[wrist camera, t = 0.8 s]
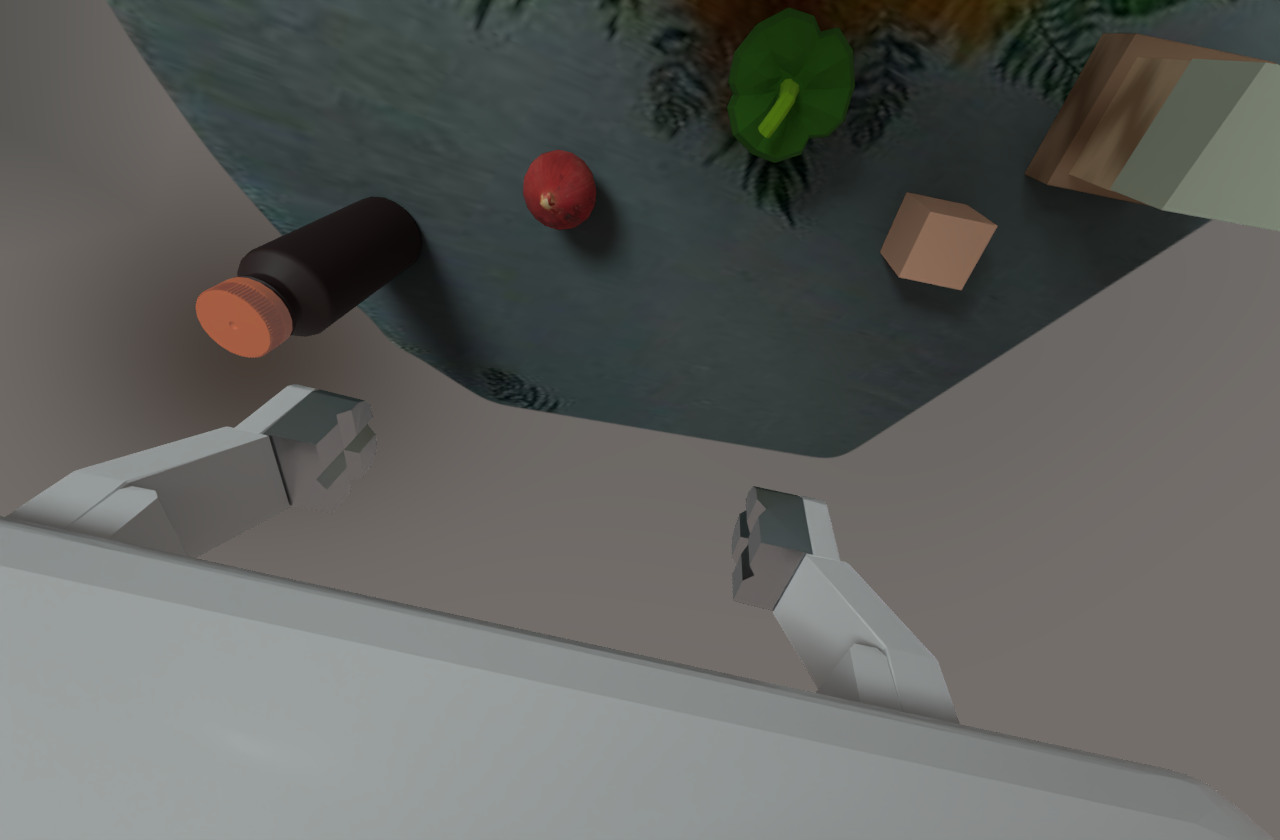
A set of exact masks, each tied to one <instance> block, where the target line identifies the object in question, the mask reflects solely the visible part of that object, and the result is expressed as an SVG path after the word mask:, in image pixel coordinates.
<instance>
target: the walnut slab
mask: <svg viewBox="0 0 1280 840" xmlns="http://www.w3.org/2000/svg"><path fill="white" fill-rule="evenodd" d="M1137 57H1144V58H1161V59H1178V60H1192V59H1209V60H1228V61H1247V62H1265V63H1271V64H1276V62H1271V61H1266V60H1261V59H1256V58H1252V57H1247V56H1242V55H1237V54H1232V53H1227V52H1223V51H1218V50H1213V49H1208V48H1203V47H1198V46H1194V45H1189V44H1184V43H1179V42H1174V41H1169V40H1165V39H1160V38H1155V37H1150V36H1145V35H1141V34H1124V33H1103V34H1102V36H1101V38H1100V39H1099V41H1098V43H1097V45H1096V47H1095V48H1094V50H1093V52H1092V54H1091V55H1090V57H1089V59H1088V61H1087V63H1086V64H1085V66H1084V68H1083V70H1082V72H1081V73H1080V75H1079V77H1078V79H1077V81H1076V82H1075V84H1074V86H1073V88H1072V90H1071V91H1070V93H1069V95H1068V97H1067V98H1066V100H1065V102H1064V104H1063V106H1062V107H1061V109H1060V111H1059V113H1058V115H1057V116H1056V118H1055V120H1054V122H1053V124H1052V125H1051V127H1050V129H1049V131H1048V132H1047V134H1046V136H1045V138H1044V140H1043V141H1042V143H1041V145H1040V147H1039V149H1038V150H1037V152H1036V154H1035V156H1034V158H1033V159H1032V161H1031V163H1030V165H1029V166H1028V168H1027V170H1026V172H1025V175H1027V176H1029V177H1032V178H1034V179H1036V180H1038V181H1040V182H1042V183H1044V184H1047V185H1051V186H1056V187H1061V188H1066V189H1071V190H1076V191H1080V192H1085V193H1090V194H1095V195H1100V196H1105V197H1109V198H1114V199H1119V200H1124V201H1129V202H1134V203H1138V204H1143V205H1147V204H1145V203H1142V202H1140V201H1137V200H1135V199H1133V198H1130V197H1128V196H1125V195H1123V194H1120V193H1118V192H1115V191H1109V190H1107V189H1104V188H1102V187H1100V186H1097V185H1095V184H1092V183H1090V182H1087V181H1085V180H1082V179H1080V178H1077V177H1075V176H1072V175H1070V174H1069V172H1070V171H1071V169H1072V167H1073V166H1074V164H1075V162H1076V161H1077V159H1078V157H1079V155H1080V154H1081V152H1082V150H1083V149H1084V147H1085V145H1086V144H1087V142H1088V140H1089V138H1090V137H1091V135H1092V133H1093V132H1094V130H1095V128H1096V127H1097V125H1098V123H1099V121H1100V120H1101V118H1102V116H1103V115H1104V113H1105V111H1106V110H1107V108H1108V106H1109V104H1110V103H1111V101H1112V99H1113V98H1114V96H1115V94H1116V93H1117V91H1118V89H1119V87H1120V86H1121V84H1122V82H1123V81H1124V79H1125V77H1126V75H1127V74H1128V72H1129V70H1130V69H1131V67H1132V65H1133V64H1134V62H1135V60H1136V58H1137ZM1148 206H1150V205H1148Z"/></svg>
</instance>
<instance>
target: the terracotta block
mask: <svg viewBox="0 0 1280 840" xmlns="http://www.w3.org/2000/svg"><path fill="white" fill-rule="evenodd" d="M996 228H997V225H996V224H994V223H993V222H991V221H990V220H988V219H987V218H985V217H984V216H983V215H981V214H980V213H978V212H977V211H975V210H974V209H972V208H971V207H969V206H968V205H966V204H961V203H956V202H951V201H947V200H942V199H937V198H932V197H928V196H923V195H918V194H913V193H908V192H906V195H905V197H904V199H903V201H902V204H901V206H900V208H899V210H898V213H897V215H896V217H895V219H894V222H893V224H892V226H891V228H890V231H889V233H888V235H887V237H886V240H885V242H884V244H883V246H882V249H881V251H880V253H881V254H882V255H883V257H884V258H885V259H886V261H887V262H888V264H889V265H890V266H891V268H892V269H893V270H894V272H895V273H896V274H897V276H898V277H900V278H905V279H910V280H914V281H919V282H924V283H929V284H934V285H938V286H943V287H948V288H953V289H957V290H962V288H963V287H964V285H965V283H966V281H967V279H968V278H969V276H970V274H971V272H972V271H973V269H974V267H975V265H976V264H977V262H978V260H979V258H980V256H981V255H982V253H983V251H984V249H985V248H986V246H987V244H988V242H989V240H990V239H991V237H992V235H993V233H994V232H995V230H996Z"/></svg>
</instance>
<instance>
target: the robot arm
mask: <svg viewBox="0 0 1280 840" xmlns="http://www.w3.org/2000/svg"><path fill="white" fill-rule="evenodd" d="M372 418H373V414H372V409H371V405H370V404H369V403H368V402H366V401H364V400H360V399H356V398H352V397H348V396H344V395H339V394H336V393H332V392H328V391H323V390H317V389H313V388H309V387H305V386H301V385H297V384H295V385H290V386H287V387H286V388H285V389H283V390H282V391H281V392H280V393H278V394H277V395H276V396H274V397H273V398H272V399H271V400H269V401H268V402H267V403H266V404H264V405H263V406H262V407H261V408H259V409H258V410H257V411H255V412H254V413H253V414H252V415H250V416H249V417H248V418H247V419H245V420H244V421H243V422H241V423H240V424H239V425H238V426H236V427H235V428H230V427H224V428H220V429H216V430H213V431H210V432H206V433H203V434H200V435H196V436H193V437H189V438H186V439H182V440H179V441H175V442H172V443H169V444H165V445H162V446H159V447H155V448H152V449H148V450H145V451H141V452H138V453H135V454H131V455H128V456H124V457H121V458H117V459H114V460H110V461H107V462H104V463H100V464H97V465H93V466H90V467H86V468H83V469H80V470H76V471H74V472H72V473H71V474H69V475H68V476H66V477H65V478H63V479H62V480H60V481H59V482H57V483H56V484H54V485H53V486H51V487H50V488H48V489H47V490H45V491H43V492H42V493H40V494H39V495H38V496H36V497H34V498H33V499H32V500H30V501H28V502H27V503H25V504H24V505H22V506H21V507H20V508H18V509H17V510H15V511H13V512H12V513H10V514H9V515H7V516H6V517H3V516H0V840H1275V839H1274V838H1272V837H1271V836H1270V835H1269V834H1268V833H1267V832H1266V831H1264V830H1263V829H1262V828H1261V827H1260V826H1259V825H1257V824H1256V823H1255V822H1254V821H1253V820H1252V819H1251V818H1250V817H1248V816H1247V815H1246V814H1245V813H1244V812H1243V811H1242V810H1240V809H1239V808H1238V807H1237V806H1235V805H1234V804H1233V803H1231V802H1230V801H1229V800H1228V799H1226V798H1225V797H1223V795H1221V794H1220V793H1219V792H1217V791H1216V790H1215V789H1214V788H1212V787H1211V786H1210V785H1208V784H1206V783H1204V782H1203V781H1201V780H1199V779H1196V778H1194V777H1191V776H1189V775H1187V774H1184V773H1180V772H1176V771H1172V770H1169V769H1165V768H1161V767H1156V766H1151V765H1147V764H1142V763H1138V762H1133V761H1128V760H1123V759H1118V758H1113V757H1109V756H1104V755H1100V754H1095V753H1091V752H1085V751H1081V750H1077V749H1072V748H1067V747H1062V746H1058V745H1053V744H1048V743H1044V742H1039V741H1035V740H1030V739H1025V738H1021V737H1016V736H1011V735H1006V734H1002V733H998V732H993V731H988V730H984V729H979V728H974V727H970V726H965V725H961V724H960V723H959V720H958V718H957V715H956V712H955V709H954V706H953V704H952V700H951V698H950V695H949V692H948V689H947V686H946V684H945V681H944V678H943V675H942V672H941V670H940V667H939V664H938V661H937V659H936V658H935V657H934V656H933V655H932V654H931V653H930V652H929V650H928V649H926V647H925V646H924V645H923V644H922V643H921V642H920V641H919V640H918V639H917V637H916V636H915V635H914V634H913V633H912V632H911V631H910V630H909V629H908V628H907V627H906V626H905V625H904V624H903V622H902V621H901V620H900V619H899V618H898V617H897V616H896V615H895V614H894V613H893V611H892V610H891V609H890V608H889V607H888V606H887V605H886V604H885V603H884V602H883V601H882V599H881V598H880V597H879V596H878V595H877V594H876V593H875V592H874V591H873V590H872V589H871V588H870V587H869V586H868V584H867V583H866V582H865V581H864V580H863V579H862V578H861V577H860V576H859V575H858V573H857V572H856V571H855V570H854V569H853V568H852V567H851V566H850V565H849V564H848V563H847V562H842V561H841V560H840V556H839V553H838V548H837V544H836V540H835V536H834V532H833V528H832V524H831V520H830V516H829V511H828V507H827V504H826V503H825V501H824V500H820V499H814V498H809V497H804V496H797V495H792V494H788V493H782V492H778V491H773V490H769V489H764V488H760V487H755V486H753V487H752V488H751V490H750V491H749V493H748V496H747V498H746V511H744V512H742V513H741V514H739V517H738V520H737V522H736V525H735V529H734V533H733V538H732V558H733V559H734V561H735V562H736V563H737V564H736V567H735V569H734V571H733V573H732V584H733V601H736V602H739V603H743V604H747V605H751V606H756V607H759V608H763V609H768V610H772V611H773V614H774V616H775V617H776V619H777V621H778V622H779V624H780V626H781V627H782V629H783V631H784V633H785V634H786V636H787V638H788V639H789V641H790V643H791V644H792V646H793V647H794V649H795V651H796V653H797V654H798V656H799V658H800V660H801V661H802V663H803V665H804V666H805V668H806V670H807V671H808V673H809V675H810V676H811V678H812V680H813V681H814V683H815V685H816V686H817V688H818V690H817V692H816V693H813V692H809V691H804V690H800V689H795V688H790V687H786V686H781V685H777V684H772V683H767V682H763V681H758V680H754V679H749V678H744V677H740V676H735V675H731V674H726V673H722V672H717V671H712V670H708V669H703V668H698V667H694V666H690V665H685V664H680V663H676V662H671V661H667V660H662V659H657V658H652V657H648V656H643V655H639V654H634V653H629V652H625V651H620V650H615V649H611V648H606V647H602V646H597V645H593V644H588V643H583V642H578V641H574V640H569V639H565V638H560V637H556V636H551V635H546V634H541V633H536V632H532V631H528V630H523V629H519V628H514V627H509V626H505V625H500V624H495V623H491V622H487V621H482V620H477V619H473V618H468V617H464V616H459V615H454V614H450V613H445V612H441V611H436V610H431V609H427V608H422V607H417V606H413V605H408V604H403V603H399V602H395V601H390V600H385V599H380V598H376V597H371V596H367V595H362V594H358V593H353V592H349V591H343V590H339V589H335V588H330V587H325V586H321V585H316V584H311V583H307V582H302V581H297V580H293V579H289V578H284V577H279V576H275V575H270V574H265V573H261V572H256V571H251V570H247V569H243V568H238V567H233V566H228V565H224V564H219V563H215V562H210V561H206V560H201V559H196V557H198V556H200V555H202V554H204V553H206V552H208V551H210V550H211V549H213V548H215V547H217V546H219V545H221V544H222V543H224V542H226V541H228V540H230V539H232V538H234V537H236V536H237V535H240V534H241V533H243V532H245V531H247V530H249V529H251V528H253V527H255V526H257V525H259V524H260V523H262V522H264V521H266V520H268V519H270V518H272V517H273V516H275V515H277V514H279V513H281V512H283V511H285V510H287V509H289V508H290V506H296V507H301V508H306V509H311V510H316V511H322V512H327V513H333V512H334V511H335V510H336V508H337V507H338V506H339V505H340V504H341V502H342V501H343V500H344V499H345V497H346V496H347V495H348V494H349V493H350V491H351V487H350V481H353V480H355V479H358V478H360V477H362V476H364V474H365V473H366V472H367V470H368V469H369V468H370V467H371V464H372V462H373V459H374V457H375V454H376V446H377V441H376V434H375V433H374V432H373V431H372V429H371V428H370V427H369V426H368V423H369V421H370V420H371V419H372Z"/></svg>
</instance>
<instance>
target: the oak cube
mask: <svg viewBox="0 0 1280 840" xmlns="http://www.w3.org/2000/svg"><path fill="white" fill-rule="evenodd" d="M1190 62H1191V60H1178V59H1161V58H1144V57H1137V58H1136V60H1135V62H1134V64H1133V65H1132V67H1131V69H1130V70H1129V72H1128V74H1127V75H1126V77H1125V79H1124V81H1123V82H1122V84H1121V86H1120V87H1119V89H1118V91H1117V93H1116V94H1115V96H1114V98H1113V99H1112V101H1111V103H1110V104H1109V106H1108V108H1107V110H1106V111H1105V113H1104V115H1103V116H1102V118H1101V120H1100V121H1099V123H1098V125H1097V127H1096V128H1095V130H1094V132H1093V133H1092V135H1091V137H1090V138H1089V140H1088V142H1087V144H1086V145H1085V147H1084V149H1083V150H1082V152H1081V154H1080V155H1079V157H1078V159H1077V161H1076V162H1075V164H1074V166H1073V167H1072V169H1071V171H1070V172H1069V174H1070V175H1072V176H1075V177H1077V178H1080V179H1082V180H1085V181H1087V182H1090V183H1092V184H1095V185H1097V186H1100V187H1102V188H1104V189H1107V190H1109V191H1113V190H1110V188H1111V186H1112V185H1113V183H1114V181H1115V180H1116V178H1117V177H1118V175H1119V174H1120V172H1121V170H1122V169H1123V167H1124V166H1125V164H1126V163H1127V161H1128V159H1129V158H1130V156H1131V155H1132V153H1133V152H1134V150H1135V148H1136V147H1137V145H1138V144H1139V142H1140V141H1141V139H1142V137H1143V136H1144V134H1145V133H1146V131H1147V130H1148V128H1149V126H1150V125H1151V123H1152V122H1153V120H1154V119H1155V117H1156V115H1157V114H1158V112H1159V111H1160V109H1161V108H1162V106H1163V104H1164V103H1165V101H1166V100H1167V98H1168V97H1169V95H1170V93H1171V92H1172V90H1173V89H1174V87H1175V86H1176V84H1177V82H1178V81H1179V79H1180V78H1181V76H1182V75H1183V73H1184V71H1185V70H1186V68H1187V67H1188V65H1189V64H1190Z"/></svg>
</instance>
